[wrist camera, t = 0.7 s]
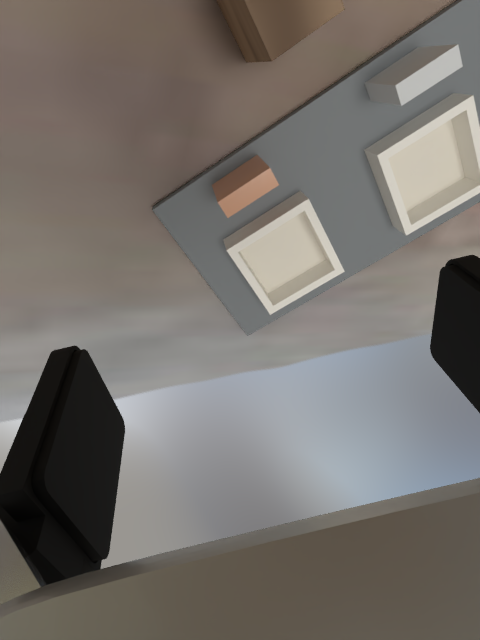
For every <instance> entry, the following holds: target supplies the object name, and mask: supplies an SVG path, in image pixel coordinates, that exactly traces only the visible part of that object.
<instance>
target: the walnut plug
mask: <svg viewBox="0 0 480 640" xmlns="http://www.w3.org/2000/svg"><path fill="white" fill-rule="evenodd" d="M216 1H217V3H218V5H219V7H220V9H221V11H222V13H223V15H224V17H225V19H226V22H227V24H228V26H229V28H230V30H231V32H232V34H233V36H234V38H235V40H236V42H237V44H238V46H239V48H240V50H241V52H242V54H243V56H244V58H245V60H246V62H266V61H273V60H274V59H276V58H277V57H279V56H280V55H281V54H283V53H284V52H286V51H287V50H288V49H290V48H291V47H293V46H294V45H295V44H297V43H298V42H300V41H301V40H302V39H304V38H305V37H307V36H308V35H309V34H311V33H312V32H314V31H315V30H316V29H318V28H319V27H321V26H322V25H324V24H325V23H326V22H328V21H329V20H331V19H332V18H333V17H335V16H336V15H338V14H339V13H340V12H342V11H343V10H345V8H344V5H343V2H342V0H216Z"/></svg>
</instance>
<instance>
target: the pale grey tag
mask: <svg viewBox="0 0 480 640" xmlns="http://www.w3.org/2000/svg"><path fill="white" fill-rule="evenodd" d="M461 67H463V65H462V60H461V55H460V50H459V46H458V44H454V45H441V46H428V47H417V48H416V49H414V50H413V51H411V52H410V53H408V54H407V55H405V56H404V57H402V58H401V59H399V60H398V61H396V62H395V63H394V64H392V65H391V66H389V67H388V68H386V69H385V70H383V71H382V72H380V73H379V74H377V75H376V76H374V77H373V78H371V79H370V80H368V81H367V82H365V86H366V89H367V92H368V95H369V97H370V100H371V101H375V102H381V103H387V104H393V105H399V106H402V105H404V104H405V103H407V102H408V101H410V100H412V99H413V98H415V97H416V96H418V95H419V94H421V93H422V92H424V91H426V90H427V89H429V88H430V87H432V86H433V85H435V84H436V83H438V82H439V81H441V80H443V79H444V78H446V77H447V76H449V75H450V74H452V73H453V72H455V71H456V70H458V69H460V68H461Z"/></svg>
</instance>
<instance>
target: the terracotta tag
mask: <svg viewBox="0 0 480 640" xmlns="http://www.w3.org/2000/svg"><path fill="white" fill-rule="evenodd" d="M278 185H279V184H278V182H277V180H276V178H275V176H274V174H273V172H272V170H271V169H270V167H269V166H268V165H267V164H266V163H265V162H264V161H263V160H262V159H261V158H260V157H259V156H258V155H256V156H254V157H253V158H251V159H250V160H248V161H247V162H245V163H244V164H242V165H241V166H239V167H238V168H236V169H235V170H233V171H232V172H230V173H229V174H227V175H226V176H224V177H223V178H222V179H220V180H219V181H217V182H216V183H214V184H213V185H212V187H213V190H214V193H215V196H216V199H217V202H218V204H219V205H220V207H221V208H222V210H223V211H224V213H225V215H226V216H227V218H229V217H230V216H232V215H233V214H235V213H237V212H238V211H240V210H241V209H243V208H244V207H246V206H247V205H249V204H250V203H252V202H254V201H255V200H257V199H258V198H260V197H261V196H263V195H264V194H266V193H268V192H269V191H271V190H272V189H274V188H275V187H277V186H278Z"/></svg>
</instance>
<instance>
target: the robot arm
mask: <svg viewBox="0 0 480 640" xmlns="http://www.w3.org/2000/svg"><path fill="white" fill-rule="evenodd" d="M430 349H431V354H432V356H433V358H434V360H435V361H436V362H437V363H438V364H439V366H440V367H441V368H442V369H443V370H444V372H445V373H446V374H447V375H448V376H449V377H450V379H451V380H452V381H453V382H454V383H455V384H456V386H457V387H458V388H459V389H460V390H461V392H462V393H463V394H464V395H465V396H466V397H467V399H468V400H469V401H470V402H471V403H472V404H473V405H474V407H475V408H476V409H477V410H478V412H479V413H480V258H478V257H477V256H475V255H469V256H464V257H460V258H456V259H451V260H449V261H448V262H447V263H446V266H445V267H443V268H442V269H441V270H440V275H439V283H438V290H437V298H436V306H435V314H434V321H433V329H432V337H431V345H430ZM124 434H125V425H124V421H123V418H122V416H121V414H120V412H119V410H118V408H117V406H116V404H115V403H114V401H113V399H112V397H111V395H110V393H109V391H108V389H107V387H106V385H105V384H104V382H103V380H102V378H101V376H100V374H99V372H98V370H97V368H96V366H95V365H94V363H93V361H92V359H91V357H90V355H89V353H88V352H87V351H86V350H84V349H83V350H80V349H79V348H78V347H77V346H71V347H67V348H63V349H58V350H54V351H52V352H51V354H50V356H49V358H48V361H47V363H46V366H45V368H44V370H43V373H42V375H41V378H40V380H39V382H38V385H37V387H36V390H35V392H34V395H33V397H32V399H31V402H30V404H29V407H28V409H27V412H26V414H25V415H24V418H23V420H22V422H21V425H20V427H19V430H18V432H17V435H16V437H15V439H14V442H13V445H12V447H11V449H10V451H9V454H8V456H7V459H6V461H5V463H4V466H3V469H2V471H1V473H0V640H480V478H478V479H473V480H469V481H465V482H460V483H456V484H452V485H447V486H443V487H439V488H434V489H430V490H425V491H421V492H417V493H413V494H408V495H404V496H400V497H396V498H391V499H387V500H383V501H379V502H375V503H370V504H366V505H362V506H357V507H353V508H349V509H345V510H340V511H336V512H332V513H328V514H324V515H319V516H315V517H311V518H307V519H302V520H298V521H294V522H290V523H285V524H282V525H277V526H273V527H269V528H265V529H261V530H257V531H253V532H248V533H244V534H240V535H236V536H232V537H228V538H223V539H219V540H215V541H211V542H207V543H203V544H198V545H195V546H190V547H186V548H182V549H178V550H174V551H170V552H165V553H162V554H157V555H154V556H150V557H146V558H142V559H138V560H134V561H130V562H126V563H123V564H119V565H115V566H111V567H107V568H104V569H100V567H101V561H102V560H103V559H106V558H107V556H108V554H109V549H110V541H111V533H112V526H113V518H114V511H115V503H116V495H117V487H118V480H119V472H120V465H121V457H122V449H123V441H124Z"/></svg>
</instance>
